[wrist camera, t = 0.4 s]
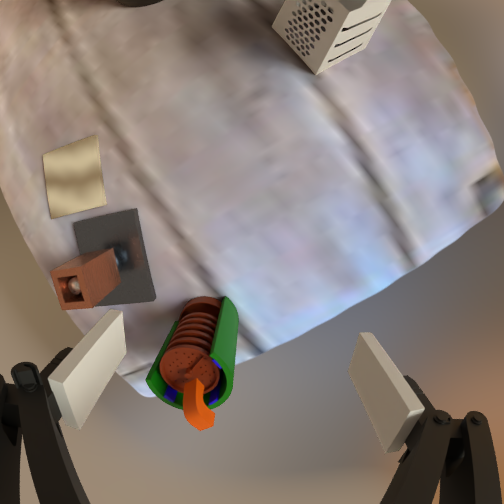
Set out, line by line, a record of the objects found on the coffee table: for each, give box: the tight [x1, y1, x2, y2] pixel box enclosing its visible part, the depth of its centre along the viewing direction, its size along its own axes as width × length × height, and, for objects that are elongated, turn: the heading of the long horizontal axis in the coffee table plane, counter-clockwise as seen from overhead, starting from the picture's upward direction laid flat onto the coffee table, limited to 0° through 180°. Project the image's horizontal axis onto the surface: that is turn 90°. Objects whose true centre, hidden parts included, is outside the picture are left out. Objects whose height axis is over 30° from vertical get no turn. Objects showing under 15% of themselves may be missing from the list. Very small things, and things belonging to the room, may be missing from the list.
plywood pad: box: [43, 135, 107, 219], centre depth 38 cm, size 11×11×1 cm
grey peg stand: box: [68, 208, 156, 306], centre depth 36 cm, size 14×11×12 cm
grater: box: [272, 0, 391, 75], centre depth 25 cm, size 10×10×20 cm
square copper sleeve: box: [50, 248, 121, 310], centre depth 33 cm, size 5×5×9 cm
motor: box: [146, 296, 239, 431], centre depth 35 cm, size 10×9×20 cm
